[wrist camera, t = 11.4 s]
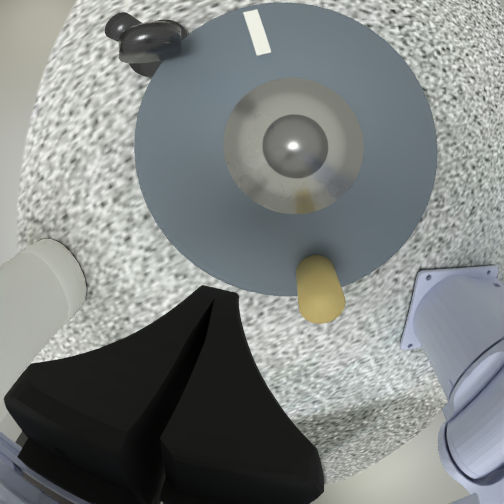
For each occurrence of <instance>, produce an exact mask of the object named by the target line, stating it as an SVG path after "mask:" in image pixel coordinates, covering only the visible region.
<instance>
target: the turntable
mask: <svg viewBox="0 0 504 504" xmlns="http://www.w3.org/2000/svg"><path fill="white" fill-rule="evenodd" d="M181 43H182V51H181V52H180V53H179V54H177V55H176V56H173V57H171V58H168V59H164V60H163V62H162V63H161V65H160V66H159V68H158V69H157V71H156V72H155V74H154V75H153V77H152V79H151V81H150V83H149V85H148V87H147V90H146V92H145V94H144V96H143V100H142V103H141V106H140V109H139V113H138V117H137V123H136V129H135V149H134V153H135V162H136V171H137V175H138V180H139V184H140V188H141V191H142V194H143V196H144V199H145V201H146V204H147V206H148V209H149V210H150V212H151V214H152V216H153V218H154V220H155V221H156V223H157V225H158V226H159V228H160V229H161V230H162V232H163V233H164V234H165V236H166V237H167V239H168V240H169V241H170V242H171V243H172V244H173V245H174V246H175V247H176V248H177V250H178V251H179V252H180V253H181V254H182V255H184V256H185V257H186V258H187V259H188V260H190V261H191V262H192V263H193V264H194V265H196V266H197V267H199V268H200V269H202V270H203V271H205V272H206V273H208V274H209V275H211V276H213V277H215V278H217V279H219V280H221V281H223V282H225V283H227V284H230V285H232V286H235V287H238V288H241V289H244V290H247V291H251V292H256V293H260V294H266V295H275V296H298V303H299V310H300V313H301V315H302V316H303V317H304V318H305V319H306V320H308V321H310V322H312V323H318V324H321V323H327V322H330V321H332V320H334V319H336V318H337V317H338V316H339V315H340V314H341V313H342V311H343V310H344V307H345V297H344V294H343V291H342V288H341V287H343V286H345V285H348V284H351V283H353V282H355V281H357V280H359V279H361V278H363V277H364V276H366V275H368V274H370V273H371V272H373V271H374V270H376V269H377V268H378V267H380V266H381V265H383V264H384V263H385V262H386V261H387V260H388V259H390V258H391V257H392V256H393V255H394V254H395V253H396V252H397V251H398V250H399V249H400V248H401V247H402V245H403V244H404V243H405V242H406V241H407V239H408V238H409V237H410V236H411V234H412V233H413V231H414V229H415V228H416V226H417V225H418V223H419V221H420V220H421V218H422V215H423V213H424V211H425V209H426V207H427V205H428V202H429V199H430V196H431V192H432V189H433V186H434V180H435V174H436V168H437V139H436V130H435V125H434V121H433V116H432V112H431V109H430V106H429V104H428V101H427V98H426V96H425V93H424V91H423V89H422V87H421V85H420V84H419V82H418V80H417V78H416V76H415V75H414V73H413V72H412V70H411V69H410V67H409V66H408V65H407V63H406V62H405V61H404V60H403V58H402V57H401V56H400V55H399V54H398V53H397V52H396V51H395V50H394V49H393V48H392V47H391V46H390V45H389V44H388V43H387V42H386V41H385V40H384V39H382V38H381V37H380V36H379V35H377V34H376V33H375V32H373V31H372V30H371V29H369V28H367V27H366V26H364V25H362V24H361V23H359V22H357V21H355V20H354V19H352V18H349V17H347V16H345V15H342V14H340V13H337V12H335V11H332V10H329V9H325V8H321V7H317V6H313V5H306V4H298V3H266V4H259V5H253V6H248V7H244V8H241V9H237V10H234V11H231V12H228V13H226V14H223V15H221V16H219V17H217V18H215V19H213V20H211V21H209V22H207V23H205V24H204V25H202V26H201V27H199V28H198V29H196V30H195V31H193V32H192V33H190V34H189V35H188V36H187V37H186V38H185V39H183V40H182V41H181ZM282 78H301V79H307V80H311V81H315V82H317V83H320V84H322V85H324V86H326V87H328V88H330V89H331V90H333V91H334V92H336V93H337V94H338V95H339V96H340V97H341V98H343V99H344V100H345V101H346V103H347V104H348V105H349V106H350V108H351V109H352V111H353V112H354V114H355V116H356V117H357V120H358V122H359V124H360V127H361V131H362V135H363V142H364V153H363V161H362V164H361V168H360V171H359V173H358V176H357V178H356V179H355V181H354V183H353V185H352V186H351V187H350V188H349V190H348V191H347V192H346V193H345V194H344V195H343V196H342V197H341V198H340V199H338V200H337V201H336V202H334V203H333V204H331V205H329V206H328V207H325V208H323V209H321V210H318V211H315V212H311V213H305V214H285V213H280V212H276V211H273V210H270V209H267V208H265V207H263V206H261V205H259V204H257V203H256V202H254V201H253V200H251V199H250V198H249V197H248V196H247V195H246V194H244V193H243V192H242V190H241V189H240V188H239V187H238V186H237V184H236V183H235V181H234V180H233V178H232V176H231V174H230V172H229V170H228V167H227V164H226V161H225V156H224V148H223V141H224V132H225V127H226V124H227V121H228V119H229V117H230V115H231V113H232V111H233V109H234V108H235V106H236V105H237V103H238V102H239V101H240V100H241V99H242V98H243V97H244V96H245V95H246V94H248V93H249V92H250V91H251V90H253V89H254V88H256V87H258V86H259V85H262V84H264V83H266V82H269V81H273V80H276V79H282Z"/></svg>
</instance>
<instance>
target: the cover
mask: <svg viewBox="0 0 504 504" xmlns="http://www.w3.org/2000/svg"><path fill="white" fill-rule="evenodd" d="M223 148H224V156H225V161H226V164H227V167H228V170H229V172H230V174H231V176H232V178H233V180H234V181H235V183H236V184H237V186H238V187H239V188H240V189H241V190H242V192H243V193H244V194H246V195H247V196H248V197H249V198H250V199H251V200H253V201H254V202H256V203H257V204H259V205H261V206H263V207H265V208H267V209H270V210H273V211H276V212H280V213H285V214H305V213H311V212H315V211H318V210H321V209H323V208H325V207H328V206H329V205H331V204H333V203H334V202H336V201H337V200H338V199H340V198H341V197H342V196H343V195H344V194H345V193H346V192H347V191H348V190H349V188H350V187H351V186H352V185H353V183H354V181H355V179H356V178H357V176H358V173H359V171H360V168H361V164H362V161H363V153H364V142H363V135H362V131H361V127H360V124H359V122H358V120H357V117H356V116H355V114H354V112H353V111H352V109H351V108H350V106H349V105H348V104H347V103H346V101H345V100H344V99H343V98H341V97H340V96H339V95H338V94H337V93H336V92H334V91H333V90H331V89H330V88H328V87H326V86H324V85H322V84H320V83H317V82H315V81H311V80H307V79H301V78H282V79H276V80H273V81H269V82H266V83H264V84H262V85H259V86H258V87H256V88H254V89H253V90H251V91H250V92H249V93H248V94H246V95H245V96H244V97H243V98H242V99H241V100H240V101H239V102H238V103H237V105H236V106H235V108H234V109H233V111H232V113H231V115H230V117H229V119H228V121H227V124H226V127H225V132H224V141H223Z"/></svg>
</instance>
